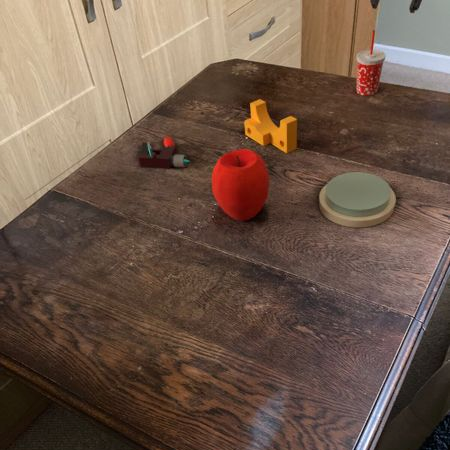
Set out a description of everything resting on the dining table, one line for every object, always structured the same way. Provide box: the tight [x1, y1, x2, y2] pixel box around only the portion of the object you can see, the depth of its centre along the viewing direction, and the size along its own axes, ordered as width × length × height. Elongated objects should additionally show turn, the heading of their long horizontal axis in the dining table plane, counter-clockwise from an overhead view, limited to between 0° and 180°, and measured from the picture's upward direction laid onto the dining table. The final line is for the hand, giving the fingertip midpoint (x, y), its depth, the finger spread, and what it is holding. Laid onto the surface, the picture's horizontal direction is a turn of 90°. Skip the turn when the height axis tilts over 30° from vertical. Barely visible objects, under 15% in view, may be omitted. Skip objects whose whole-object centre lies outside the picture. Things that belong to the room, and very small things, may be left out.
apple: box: [211, 148, 270, 222], centre depth 84 cm, size 10×10×12 cm
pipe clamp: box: [244, 98, 298, 154], centre depth 102 cm, size 12×4×6 cm, turn 34°
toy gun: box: [136, 136, 191, 169], centre depth 102 cm, size 10×12×5 cm
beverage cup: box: [355, 29, 387, 96], centre depth 109 cm, size 6×6×14 cm
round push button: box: [318, 171, 397, 229], centre depth 86 cm, size 13×13×3 cm
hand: (392, 9), depth 106 cm, fingers open, 8 cm apart
